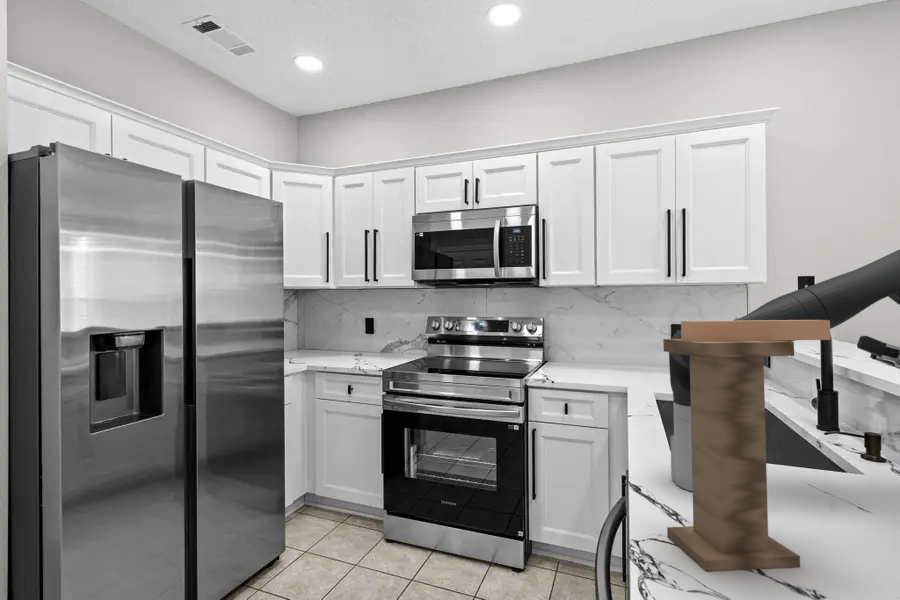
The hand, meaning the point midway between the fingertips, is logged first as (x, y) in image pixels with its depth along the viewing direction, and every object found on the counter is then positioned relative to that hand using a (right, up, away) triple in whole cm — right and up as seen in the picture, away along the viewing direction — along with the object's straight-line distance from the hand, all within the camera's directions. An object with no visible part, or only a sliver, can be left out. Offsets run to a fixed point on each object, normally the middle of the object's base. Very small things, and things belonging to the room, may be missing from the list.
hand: (885, 343), depth 69 cm
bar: (-18, 0, +2) cm, 19 cm away
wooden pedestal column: (-23, -32, +1) cm, 39 cm away
